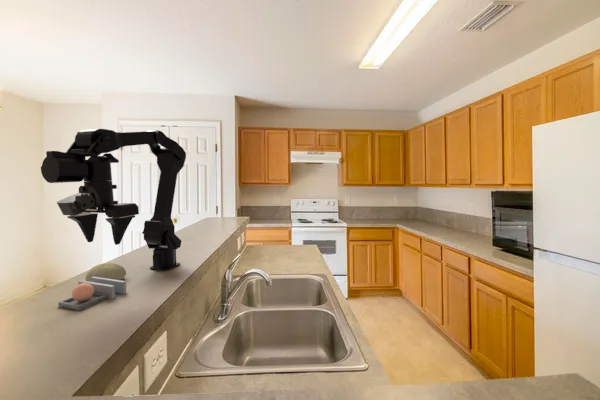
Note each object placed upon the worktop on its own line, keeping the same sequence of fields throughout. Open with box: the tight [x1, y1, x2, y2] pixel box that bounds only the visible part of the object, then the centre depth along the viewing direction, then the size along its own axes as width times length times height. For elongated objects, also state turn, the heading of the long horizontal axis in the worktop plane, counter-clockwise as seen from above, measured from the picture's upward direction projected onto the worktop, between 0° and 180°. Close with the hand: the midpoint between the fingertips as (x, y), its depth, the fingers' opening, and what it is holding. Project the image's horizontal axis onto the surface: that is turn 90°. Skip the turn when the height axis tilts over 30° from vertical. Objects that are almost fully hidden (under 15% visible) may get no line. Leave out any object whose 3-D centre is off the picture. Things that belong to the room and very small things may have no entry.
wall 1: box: [78, 280, 116, 300], centre depth 69 cm, size 1×11×3 cm, turn 72°
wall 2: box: [91, 277, 127, 295], centre depth 72 cm, size 1×11×3 cm, turn 72°
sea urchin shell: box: [85, 262, 127, 282], centre depth 79 cm, size 9×8×8 cm
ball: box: [71, 283, 94, 302], centre depth 65 cm, size 4×4×4 cm
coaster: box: [58, 292, 108, 312], centre depth 65 cm, size 6×6×1 cm
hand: (103, 243), depth 71 cm, fingers open, 9 cm apart
